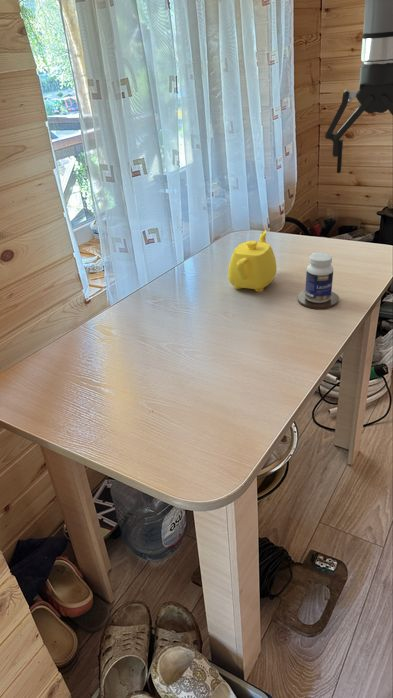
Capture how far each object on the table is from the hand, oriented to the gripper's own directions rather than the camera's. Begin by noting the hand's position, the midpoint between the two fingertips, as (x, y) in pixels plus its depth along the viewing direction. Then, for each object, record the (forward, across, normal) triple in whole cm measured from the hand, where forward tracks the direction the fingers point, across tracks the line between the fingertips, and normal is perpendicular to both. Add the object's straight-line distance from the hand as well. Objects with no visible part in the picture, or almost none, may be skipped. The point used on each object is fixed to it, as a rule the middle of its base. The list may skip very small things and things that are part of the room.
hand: (370, 171), depth 114 cm
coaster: (+24, +9, +17) cm, 31 cm away
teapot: (+24, +25, +10) cm, 36 cm away
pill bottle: (+24, +9, +17) cm, 30 cm away
